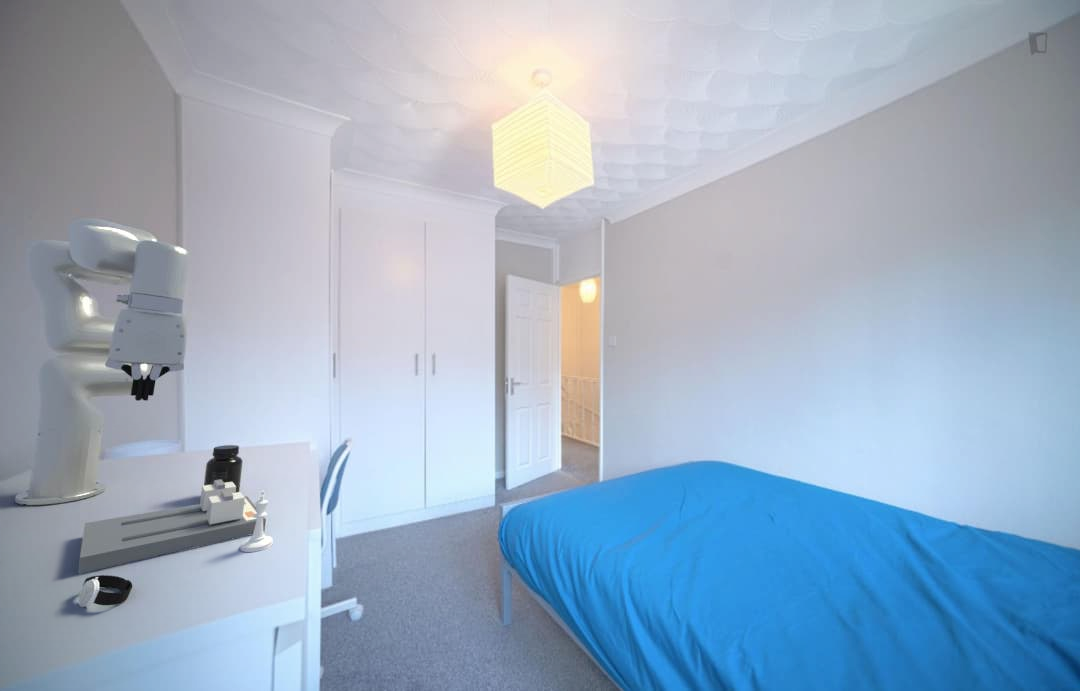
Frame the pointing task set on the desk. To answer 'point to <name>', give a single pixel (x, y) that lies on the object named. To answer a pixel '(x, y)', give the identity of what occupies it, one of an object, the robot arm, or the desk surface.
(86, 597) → the watch
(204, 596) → the desk surface
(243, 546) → the chess piece
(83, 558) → the switch panel
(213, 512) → the switch
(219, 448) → the supplement bottle
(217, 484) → the switch
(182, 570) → the desk surface
